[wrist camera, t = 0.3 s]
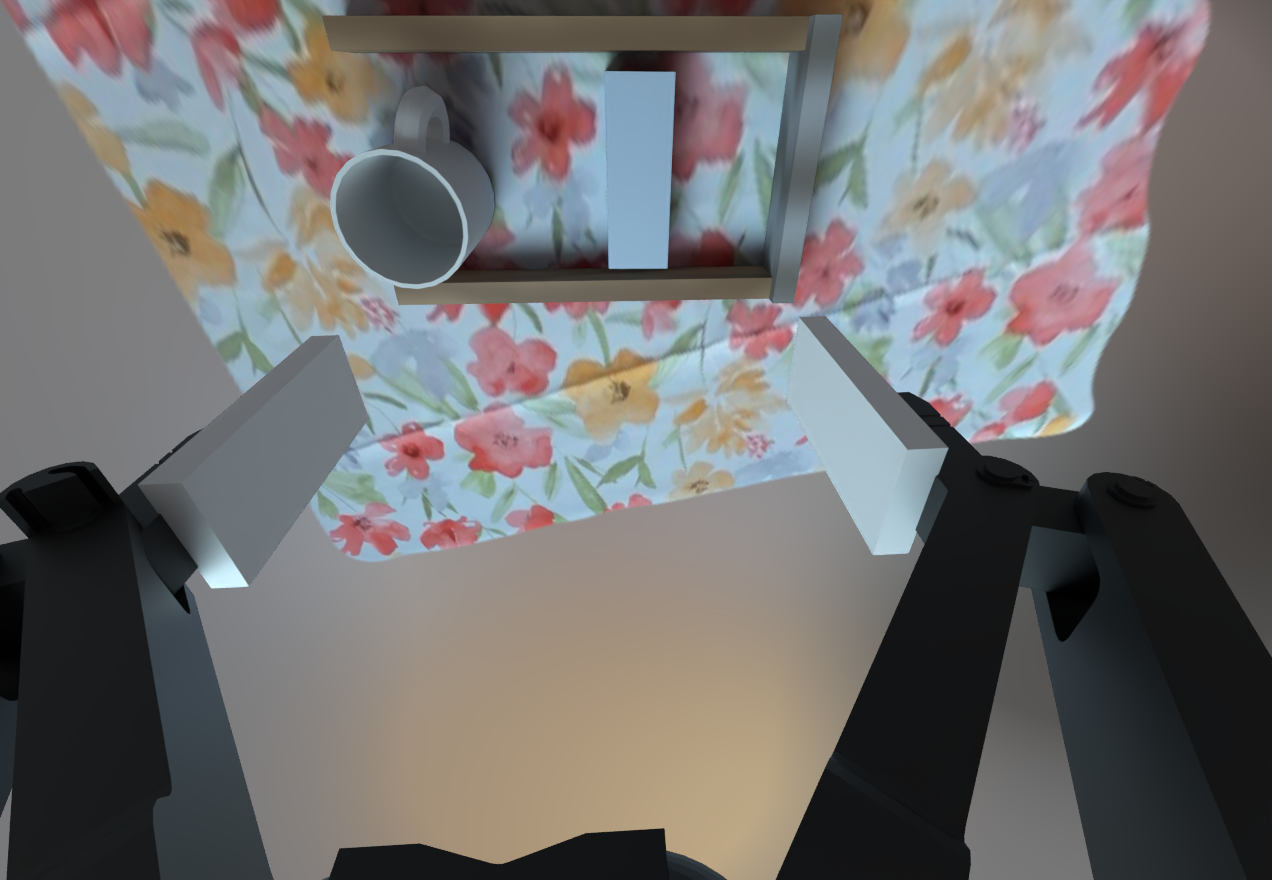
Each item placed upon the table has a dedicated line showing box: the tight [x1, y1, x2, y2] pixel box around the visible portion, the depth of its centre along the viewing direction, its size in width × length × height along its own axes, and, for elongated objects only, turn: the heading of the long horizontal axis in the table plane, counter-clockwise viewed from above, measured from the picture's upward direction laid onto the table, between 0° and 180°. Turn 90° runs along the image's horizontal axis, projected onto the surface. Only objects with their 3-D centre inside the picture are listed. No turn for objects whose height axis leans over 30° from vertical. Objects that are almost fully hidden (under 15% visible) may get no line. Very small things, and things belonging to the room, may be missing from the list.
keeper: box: [605, 71, 675, 269], centre depth 34 cm, size 11×4×4 cm, turn 0°
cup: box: [330, 86, 495, 289], centre depth 32 cm, size 7×10×9 cm
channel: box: [322, 15, 843, 305], centre depth 34 cm, size 16×28×4 cm, turn 90°
